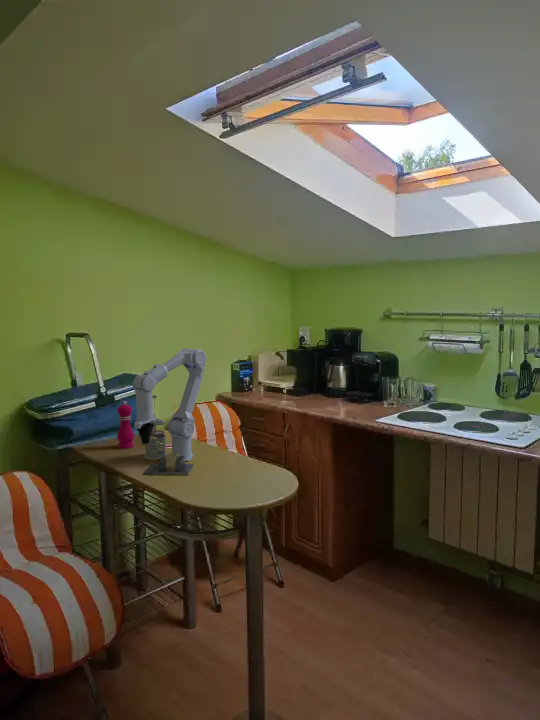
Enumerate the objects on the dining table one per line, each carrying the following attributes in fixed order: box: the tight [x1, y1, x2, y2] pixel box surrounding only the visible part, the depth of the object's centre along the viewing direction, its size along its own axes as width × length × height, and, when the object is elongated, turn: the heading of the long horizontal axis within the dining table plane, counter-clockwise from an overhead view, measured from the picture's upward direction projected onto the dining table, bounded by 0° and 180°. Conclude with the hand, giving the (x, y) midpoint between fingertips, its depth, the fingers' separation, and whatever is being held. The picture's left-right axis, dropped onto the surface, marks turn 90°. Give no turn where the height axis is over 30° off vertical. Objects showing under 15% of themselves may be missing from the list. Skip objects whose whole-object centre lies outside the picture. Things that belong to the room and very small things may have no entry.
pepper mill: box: [116, 400, 135, 450], centre depth 229 cm, size 7×7×20 cm
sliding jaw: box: [158, 455, 165, 470], centre depth 199 cm, size 12×2×4 cm, turn 176°
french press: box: [137, 394, 168, 460], centre depth 214 cm, size 10×12×25 cm
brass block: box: [165, 452, 179, 470], centre depth 197 cm, size 4×4×5 cm
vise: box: [143, 456, 195, 476], centre depth 197 cm, size 10×16×4 cm, turn 86°
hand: (145, 443), depth 198 cm, fingers closed
